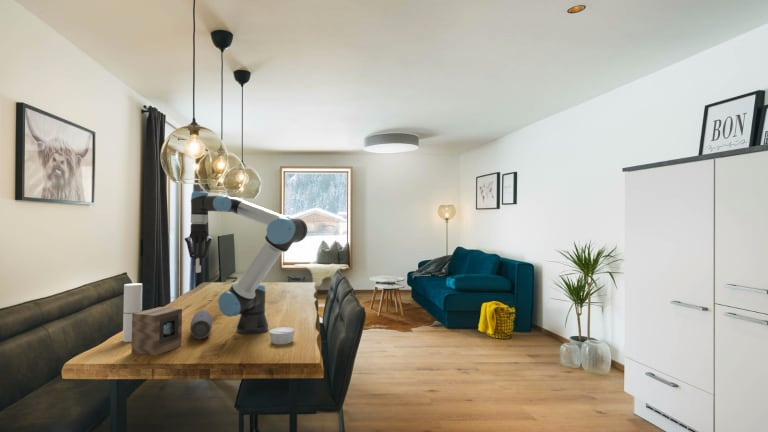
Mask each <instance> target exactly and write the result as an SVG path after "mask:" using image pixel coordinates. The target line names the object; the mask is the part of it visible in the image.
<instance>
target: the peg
mask: <svg viewBox="0 0 768 432" xmlns="http://www.w3.org/2000/svg"><path fill="white" fill-rule="evenodd" d="M173 329H174V326H173V324H172V323H164V335H170V334H171V333H172V332H173Z"/></svg>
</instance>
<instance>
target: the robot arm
mask: <svg viewBox="0 0 768 432" xmlns="http://www.w3.org/2000/svg"><path fill="white" fill-rule="evenodd" d="M209 212H219V213H221V212H223V213H225V212H226V213H232V214H236V215H239V216H242V217H244V218H246V219H249V220H252V221H254V222H257V223H259V224H262V225H264V226H267V228H266V235H265V237H264V240H265V242H264V243H263V245H262V247H261V248H260V250H259V251H258V253H257V254H256V256H255V257H254V259H253V260H252V262H251V263H250V264H249V266H248V267H247V269H246V270H245V271H244V273H243V275H242V276H241V277H240V279H239V280H238V281H235V282H233V283H232V285H231V286H230V287H229V288H228V290H226V291H224V292H222V293H221V294H220V295H219V297H218V299H217V301H218V302H217V304H218V308H219V310H220V313H221V314H223V315H224V316H225V317H237V316H239V315H240V316H239V318H238V321H237V324H236V329H235V330H236V333H237V334H242V335H255V334H260V333H265V332H267V331H268V330H269V323H268V320H267V316H266V293H267V292H266V286H265V285H264V284H261V283H262V281H263V280H264V279H265V277H266V276H267V274H268V273H269V271H270V270H271V269H272V267H273V266H274V264H275V263H276V262H277V260H278V259H279V257H280V256H281V254H282V253H286V252H288V250H289V248H291V246H292V244H295V243H299V242H301V241H303V240H304V239H305V238H306V237H307V235H308V225H307V223H306V222H305V221H304V220H303V219H301V218H300V217H299V218H298V217H295V216H292V215H289V214H288V215H286V216H285V215H283V214H280V213H278V212H274V211H272V210H270V209H268V208H265V207H261V206H259V205H256V204H254V203H251V202H249V201H246V200H244V199H243V198H240V197H237V196H236V197H234V196H233V197H232V196H227V195H221V194H220V195H209V193H208V192H207V191H192V192H191V197H190V234H189V236H187V237H185V238H184V241H185V242H186V246H187V250H188V254H189V258H192V259H193V265H194V266H195V273H197V274H198V273H202V266H203V265H204V259H205V258H207V257H208V255H209V251H210V247H211V243H212V242H213V240H214V238H213V237H210V236H209V234H208V226H209V225H208V219H209V218H208V217H209ZM205 241H206V244H205ZM192 242H193V244H192Z"/></svg>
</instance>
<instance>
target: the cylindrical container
mask: <svg viewBox="0 0 768 432" xmlns="http://www.w3.org/2000/svg"><path fill="white" fill-rule="evenodd" d="M122 311H123V312H122V313H123V315H122V316H123V317H122V321H123V323H122V324H123V325H122V342H125V343H128V342H131V343H132V314H133V313H137V312H141V311H143V283H141V282H140V283H139V282H137V283H135V282H134V283H124V285H123V310H122Z"/></svg>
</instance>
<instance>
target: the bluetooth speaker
mask: <svg viewBox="0 0 768 432" xmlns="http://www.w3.org/2000/svg"><path fill="white" fill-rule="evenodd" d="M212 328H213V318H212V315H211V313H210V312H209V311H207V310H204V309H201V310H199V311H197V312H196V313H195V314H194V315H193V317H192V319H191V322H190V333H191V336H192V337H194V338H195V339H204V338H206V337H208V335H209V334H210V333H211V330H212Z"/></svg>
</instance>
